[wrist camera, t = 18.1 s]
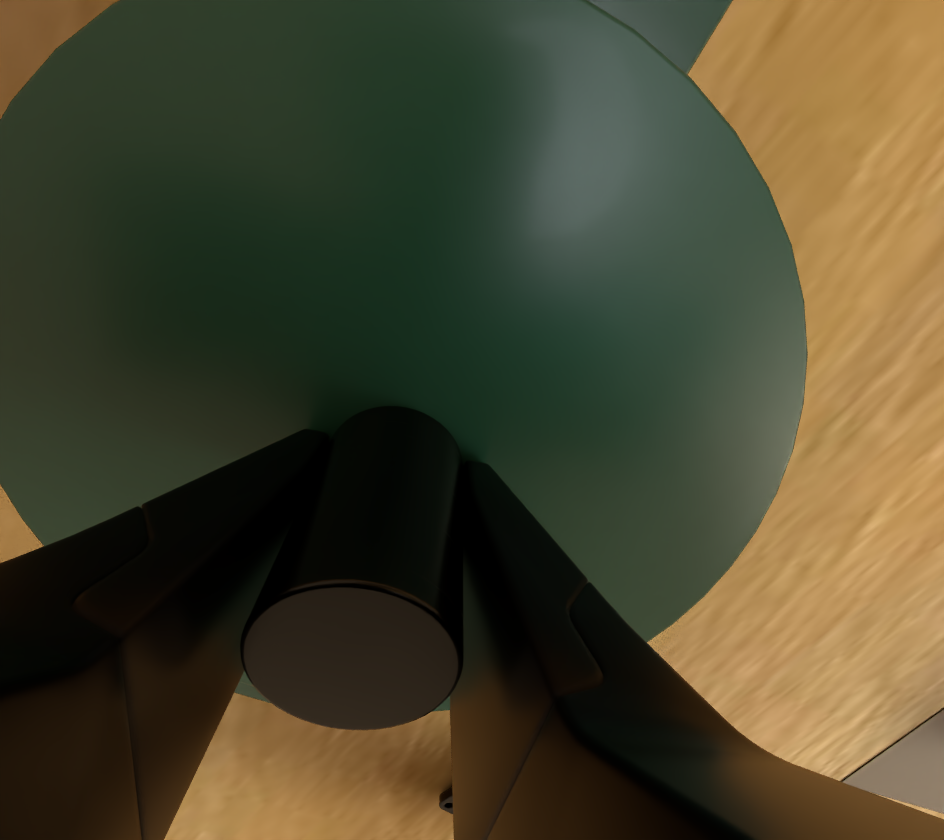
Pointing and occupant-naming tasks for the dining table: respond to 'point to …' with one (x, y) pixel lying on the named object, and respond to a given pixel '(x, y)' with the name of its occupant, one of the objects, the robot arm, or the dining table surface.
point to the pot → (673, 33)
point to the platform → (909, 768)
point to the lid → (395, 309)
